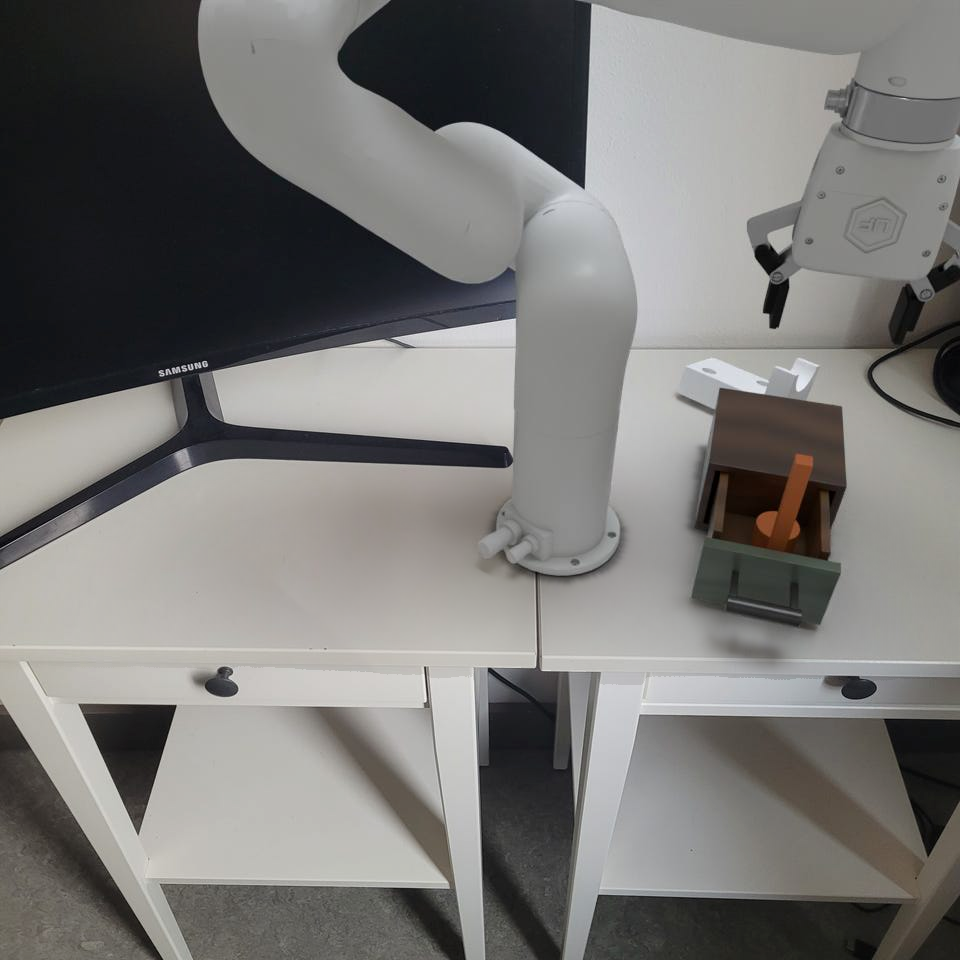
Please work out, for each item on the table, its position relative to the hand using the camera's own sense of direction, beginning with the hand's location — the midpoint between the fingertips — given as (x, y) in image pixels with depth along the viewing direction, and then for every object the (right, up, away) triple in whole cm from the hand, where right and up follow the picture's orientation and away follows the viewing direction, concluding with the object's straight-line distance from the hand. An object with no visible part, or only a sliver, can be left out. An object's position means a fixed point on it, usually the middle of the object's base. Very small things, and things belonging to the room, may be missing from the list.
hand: (832, 328), depth 68 cm
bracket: (+3, -3, +33) cm, 33 cm away
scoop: (-2, -20, +10) cm, 22 cm away
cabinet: (+1, -15, +20) cm, 24 cm away
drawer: (-3, -22, +9) cm, 24 cm away
